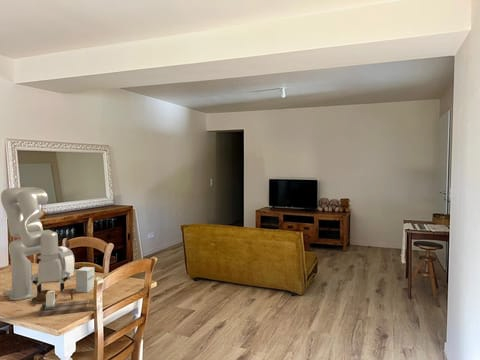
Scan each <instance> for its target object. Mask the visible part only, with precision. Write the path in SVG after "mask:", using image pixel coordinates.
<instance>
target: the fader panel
mask: <svg viewBox="0 0 480 360" xmlns="http://www.w3.org/2000/svg"><path fill="white" fill-rule="evenodd" d="M94 299H95V298H91V299H85V300H84V299H82V300H76V301H67V302H66V301H64V302H57V304H56V306H55V308H54V309H49V310H45V306H46V303H43V304H41V306H40V308H39V309H40V311H38V312H39V313H38V316H39V317H41V318H42V317H48V316H49V317H50V316H57V315H64V314H65V315H66V314H67V315H68V314H73V313H75V314H76V313H81V312H82V313H83V312H90V311H91V312H92V311H95V310H94Z"/></svg>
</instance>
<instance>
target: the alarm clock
mask: <svg viewBox="0 0 480 360" xmlns="http://www.w3.org/2000/svg"><path fill="white" fill-rule="evenodd" d="M58 259H60V261H61V266H62V270H63V271H66V272H69V273H70V275H69V277H68V279H67V280H70V279H71V277H72V276H74V273H75V255H74V253H73V251H72V250H71V248H69V247H66V246H63V245H61V246H58ZM65 277H66V275H65V274H62V278H63V279H64V278H65Z"/></svg>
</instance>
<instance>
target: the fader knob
mask: <svg viewBox="0 0 480 360" xmlns="http://www.w3.org/2000/svg"><path fill="white" fill-rule="evenodd" d="M55 294H56V291H55V290H51V291H48V292H47V294H46V303H45V305H46V306H45V310H49V309H54V308H55V306H56V304H57V303H58V302H57V301H56V299H55Z"/></svg>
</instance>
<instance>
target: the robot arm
mask: <svg viewBox="0 0 480 360" xmlns="http://www.w3.org/2000/svg"><path fill="white" fill-rule="evenodd" d="M48 201H49V196H48V193H47V192H46V190H44V189H43V188H39V187H35V186H29V187H27V186H26V187H25V186H24V187H11V188H10V187H9V188H5V189H3V190H2V191H1V193H0V202H1V205H2V208H3V209H4V211H5V213H6V220H7V226H8V232H9V235H10V236H11V237H12V238H19V239H16V240H13V241H11V242H10V243H9V245H8V252H9V258H10V267H11V271H10V273H11V289H8V290H7V289H6V290H5V289H4V290H3V291H2V294H3V295H4V296H7V295H9V296H8V300H10V301H23V300H28V299H30V298H34V297H36V295H37V292H38V294H40V293H41V292H42V283H48V282H57V281H59V282H60V284H59V285H60V286H59V287H60V288H59V289H60V292H63V290H65V282H66V281H67V280H69V279H68V277H69V275H70V273H69V272H66V271H63V270H62V266H61V261H60V259H58V247H59V239H58V238H59V237H58V236H59V235H58V233H57V232H56V231H53V230H51V229H45V230H44V228H43V223H42V221H41V220H40V218H41V217H42V215H43V212H42V210H41V207H40V206H42V205H46V204H47V203H48ZM38 254H40V255H38ZM33 255H34V256H35V255H38V256H37V259H38V260H39V259H40V261H38V268H37V273H35V274H34V275H33V266H32V265H33V264H32V261H31V260H30V259H29V258H28V257H29V256H33ZM62 274H65V275H66V277H65V278H64V279H63V278H62ZM36 278H37V280H36ZM33 284H34V285H35V286H36V291H37V292H36V291H35V290H33Z"/></svg>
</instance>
